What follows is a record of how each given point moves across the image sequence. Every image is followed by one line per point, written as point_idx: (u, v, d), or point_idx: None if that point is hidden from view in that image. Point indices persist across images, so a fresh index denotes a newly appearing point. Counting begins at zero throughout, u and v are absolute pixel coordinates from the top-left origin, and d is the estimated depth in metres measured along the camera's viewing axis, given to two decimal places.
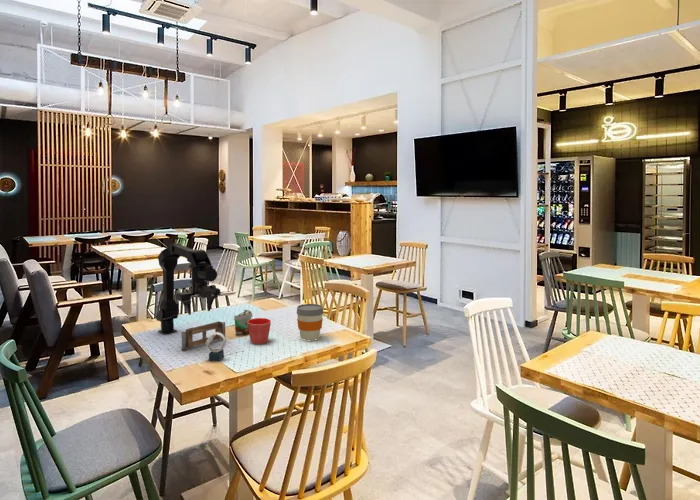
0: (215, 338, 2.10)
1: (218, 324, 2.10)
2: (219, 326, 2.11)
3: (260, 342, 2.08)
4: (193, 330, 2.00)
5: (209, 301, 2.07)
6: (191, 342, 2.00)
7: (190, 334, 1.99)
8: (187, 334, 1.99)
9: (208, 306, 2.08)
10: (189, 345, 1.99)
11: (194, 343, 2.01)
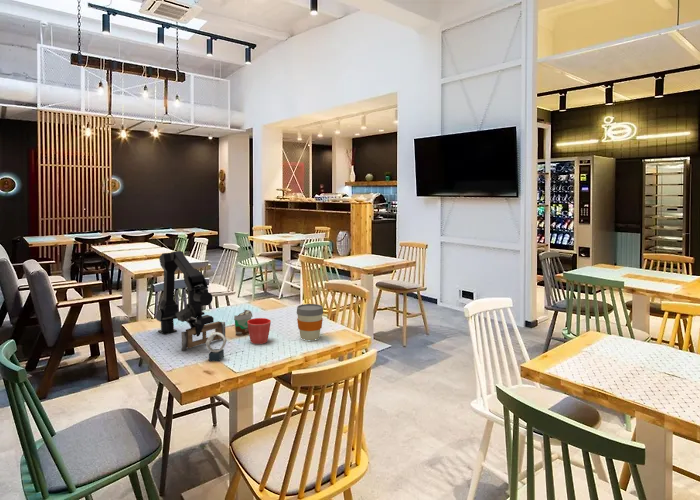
0: (215, 338, 2.10)
1: (218, 324, 2.10)
2: (219, 326, 2.11)
3: (260, 342, 2.08)
4: (193, 330, 2.00)
5: None
6: (191, 342, 2.00)
7: (190, 334, 1.99)
8: (187, 334, 1.99)
9: None
10: (189, 345, 1.99)
11: (194, 343, 2.01)
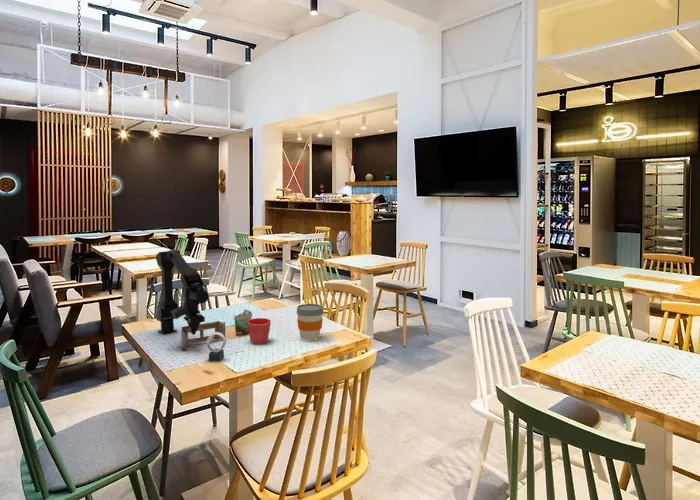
0: None
1: (217, 324, 2.10)
2: (218, 326, 2.11)
3: (260, 342, 2.08)
4: (188, 328, 2.03)
5: None
6: None
7: None
8: None
9: None
10: None
11: (190, 341, 2.04)
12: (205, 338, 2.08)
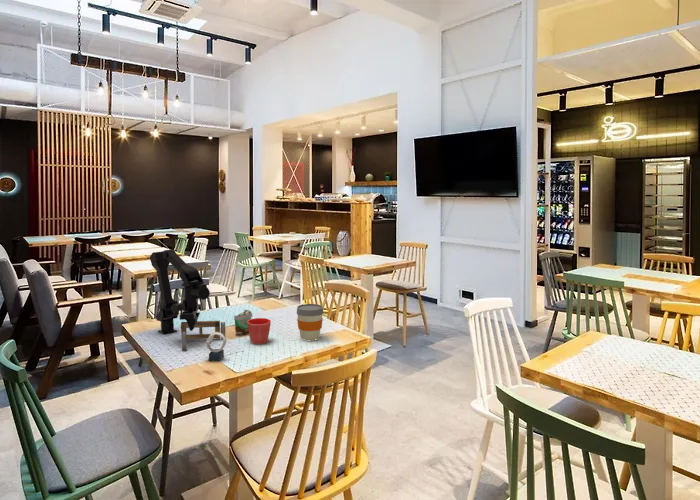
0: None
1: (215, 323, 2.12)
2: (217, 325, 2.12)
3: (260, 342, 2.08)
4: (186, 324, 2.09)
5: None
6: None
7: (183, 327, 2.09)
8: (181, 326, 2.10)
9: None
10: None
11: (188, 336, 2.11)
12: (203, 336, 2.12)
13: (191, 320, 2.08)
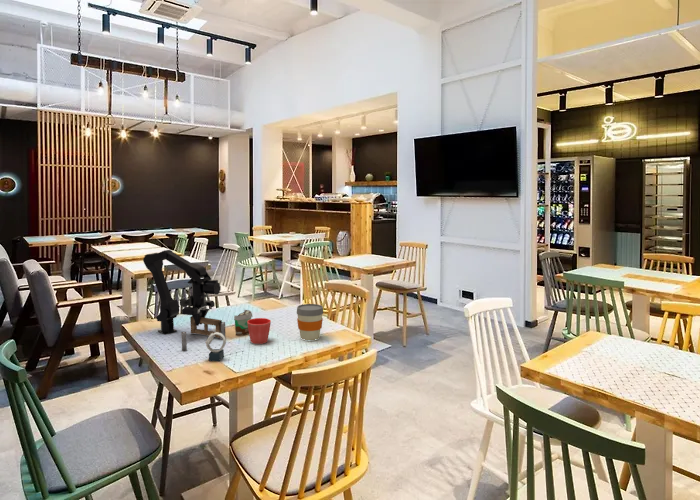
0: None
1: (216, 322, 2.13)
2: (217, 324, 2.13)
3: (260, 342, 2.08)
4: None
5: None
6: (192, 328, 2.20)
7: (192, 321, 2.19)
8: None
9: None
10: (191, 330, 2.20)
11: (196, 331, 2.19)
12: (207, 332, 2.17)
13: (196, 315, 2.16)
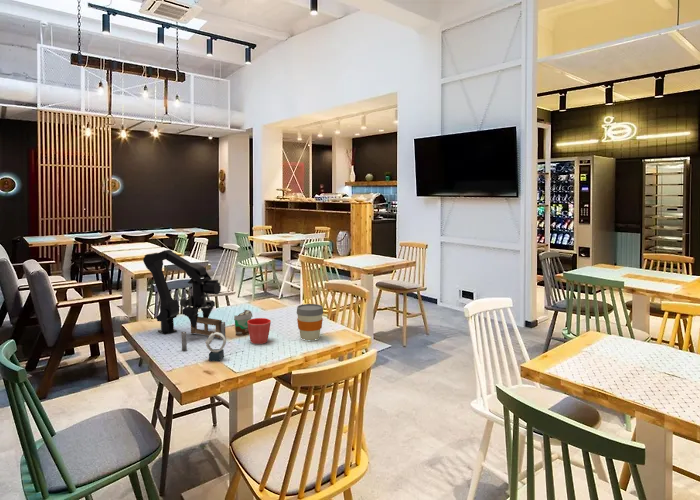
0: None
1: (216, 322, 2.13)
2: (217, 324, 2.13)
3: (260, 342, 2.08)
4: None
5: None
6: (193, 328, 2.20)
7: None
8: None
9: None
10: (191, 330, 2.20)
11: (196, 330, 2.19)
12: (207, 332, 2.17)
13: (193, 317, 2.13)
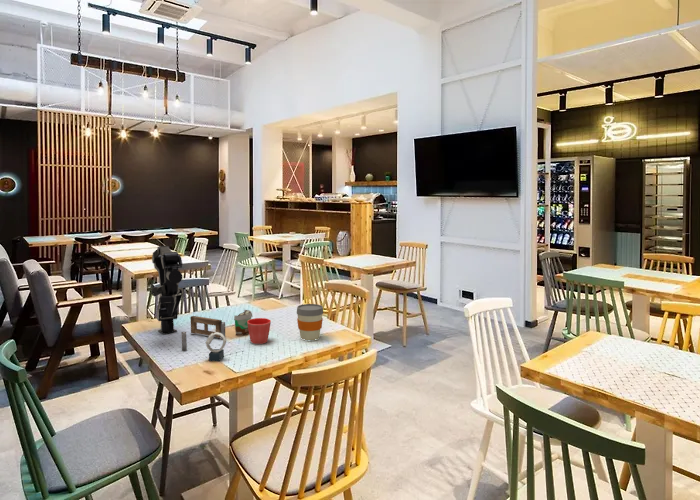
0: None
1: (216, 322, 2.13)
2: (217, 324, 2.13)
3: (260, 342, 2.08)
4: (194, 318, 2.18)
5: None
6: (193, 328, 2.20)
7: (192, 321, 2.19)
8: None
9: None
10: (191, 330, 2.20)
11: (196, 330, 2.19)
12: (207, 332, 2.17)
13: (170, 305, 2.03)
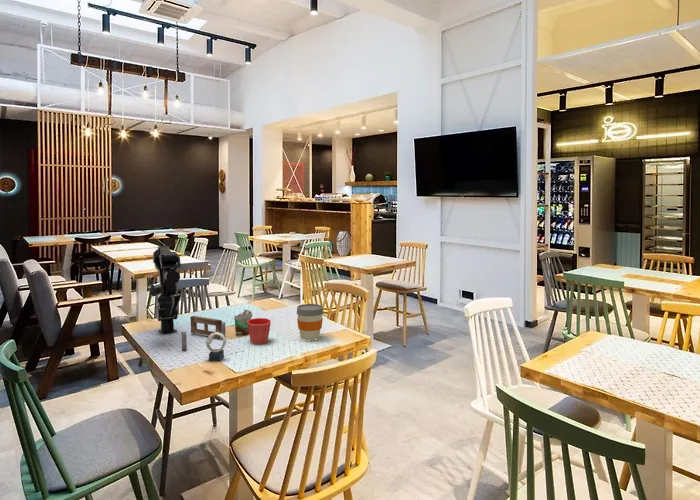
0: None
1: (216, 322, 2.13)
2: (217, 324, 2.13)
3: (260, 342, 2.08)
4: (194, 318, 2.18)
5: None
6: (193, 328, 2.20)
7: (192, 321, 2.19)
8: None
9: None
10: (191, 330, 2.20)
11: (196, 330, 2.19)
12: (207, 332, 2.17)
13: (168, 305, 2.02)
